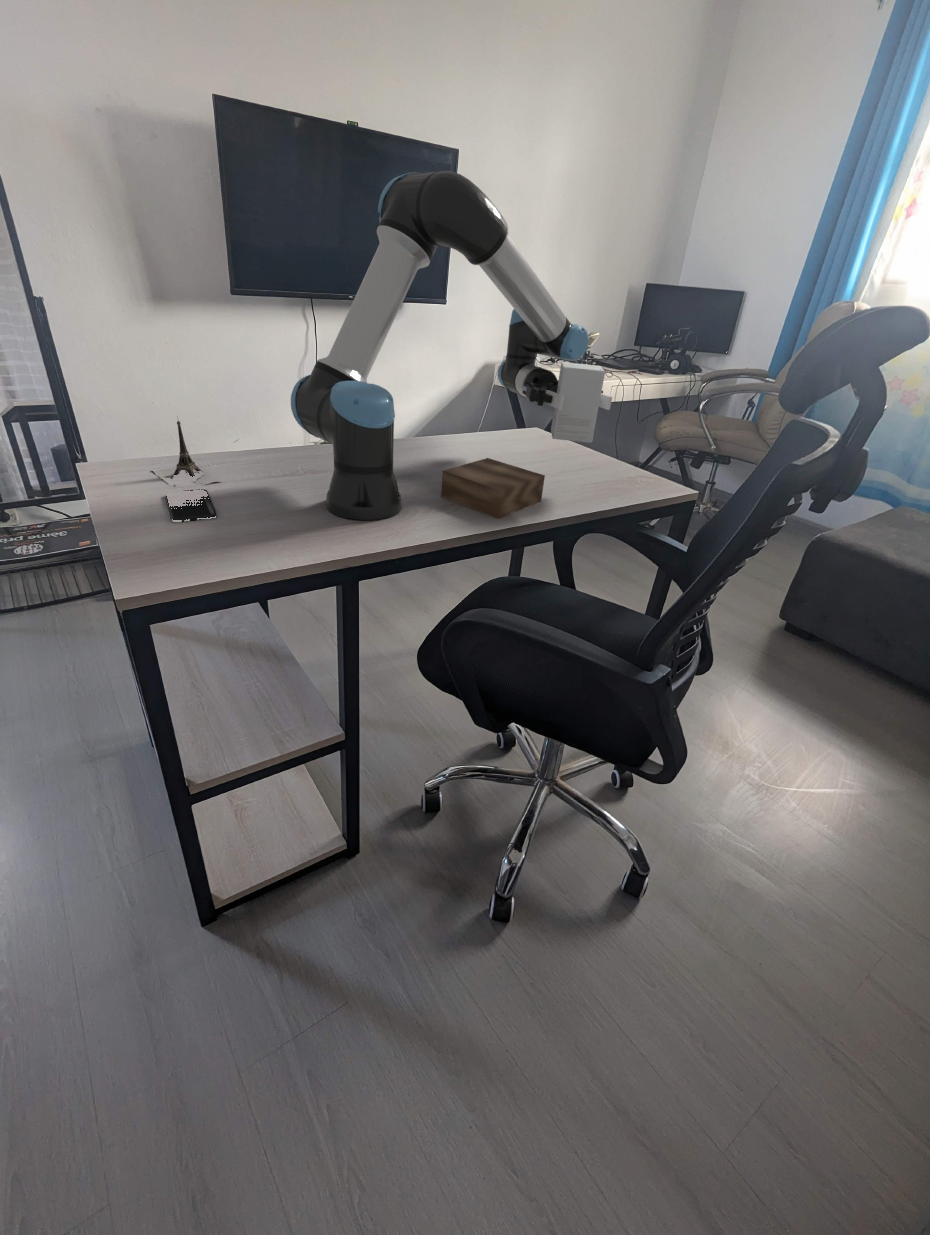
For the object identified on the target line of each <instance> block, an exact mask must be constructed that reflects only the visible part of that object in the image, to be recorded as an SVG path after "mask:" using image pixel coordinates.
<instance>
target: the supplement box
mask: <svg viewBox="0 0 930 1235" xmlns="http://www.w3.org/2000/svg"><path fill="white" fill-rule="evenodd" d="M605 376H606V371H605V369H604V368H602V366H601V365H593V364H584V363H574V362H573V363H572V362H565V361H561V363H560V367H559V375H558V387H557V394H560V395H562V396H565V397H564V403H563V409H562V410H559V409H557V408H554V407H553V408H554V409H553V415H552V420H551V427H550V433H551V438H552V440H561V441H568V442H569V441H571V442H578V443H579V442H581V443H588V444H590V443H591V444H592V443H593V439H594V434H595V429H596V424H597V417H598V412H599V408H600V407H599V402H600V397H601V392H602V391H603V386H604V380H605Z"/></svg>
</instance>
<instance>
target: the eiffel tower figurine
mask: <svg viewBox="0 0 930 1235" xmlns="http://www.w3.org/2000/svg"><path fill="white" fill-rule="evenodd" d="M178 417H179V416H177V419H179V418H178ZM176 426H177V430H178V431H177V432H178V439H179V440H178V441H179V453H178V454H179V458H178V463H177V464H176V469H175V470H174V473H173V475H177V474H178V473H179V472H180V471H181V470H185V472H188V473H189V475H190V476H192V477H193V476H195V475H194V473H195V472H194V470H195V471H196V472H197V471H202V470H201V469H200V468H199V467H198V466H197V465H196V462H195V461H193V459H192V457H191V456H190V454H189V453H190V452H189V451H188V449H187V446H186V442H185V439H184V435H183V431H182V427H181V426H182V425H181V421H180V420H177V422H176Z"/></svg>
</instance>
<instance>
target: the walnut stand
mask: <svg viewBox="0 0 930 1235" xmlns="http://www.w3.org/2000/svg"><path fill="white" fill-rule="evenodd" d="M441 473H442V474H441V491H440V498H442V499H445V500H447V501H450V502H452V503H456V504H458V505H461V506H464V507H466V508H469V509H471V510H475V511H477V512H480V513H482V514H485V515H488V516H490V517H493V518H496V519H501V518H503V517H506V516H508V515H511V514H514V513H516V512H518V511H521V510H523V509H525V508H529V507H531V506H533V505H536V504H538V503H541V502H542V499H543V491H544V490H543V489H544V483H545V478H546V475H544V474H541V473H538V472H535V471H532V470H528V469H525V468H522V467H518V466H515V465H512V464H509V463H505V462H502V461H499V460H496V459H492V458H489V457H487V458H482V459H480V460H476V461H472V462H469V463H464V464H460V465H458V466H454V467H451V468H447V469H443V470H442V471H441Z"/></svg>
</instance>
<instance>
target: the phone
mask: <svg viewBox="0 0 930 1235" xmlns="http://www.w3.org/2000/svg"><path fill="white" fill-rule="evenodd" d="M200 489H201V488H199V489H197V490H200ZM189 490H190V491H193V490H194V489H186V490H184V491H189ZM201 490H204V491H206V492H207V494H208V496H207V497H204V496H203V497H201V498H203V499H200V500H198V501H200V503H199V502H197V503H196V506H195V505H194V506H192V504H193V503H192V502H191V505H190V506H189V504H190V502H189V503H187V502H186V504H188V506H187V505H186V506H182V507H181V506H180V507H178V506H174V507H173V506H172V507H171V506H170V507H169V503H168V499H167V496H166V495H165V500H166V499H167V502H166V504H167V503H168V504H167V507H169V508H168V511H170V512H169V515H170V520H171V519H173V520H186V519H187V520H188V519H191V520H196V519H195V518H207V517H208V518H210V517H215V516H216V515H217V511H216V509H215V507H214V504H213V501H212V499H211V497H210V495H209V492H208V490H207V489H203V488H202V489H201ZM204 498H206V499H204ZM208 498H209V499H208ZM186 501H189V500H186ZM190 501H191V500H190ZM194 501H195V500H194ZM196 501H197V499H196ZM201 501H203V502H202V503H201ZM183 504H185V503H183ZM194 504H195V502H194ZM197 504H200V505H198V506H197ZM201 504H202V505H201ZM171 508H172V509H171ZM174 508H175V509H174ZM176 508H177V509H176ZM181 508H182V509H181Z"/></svg>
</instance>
